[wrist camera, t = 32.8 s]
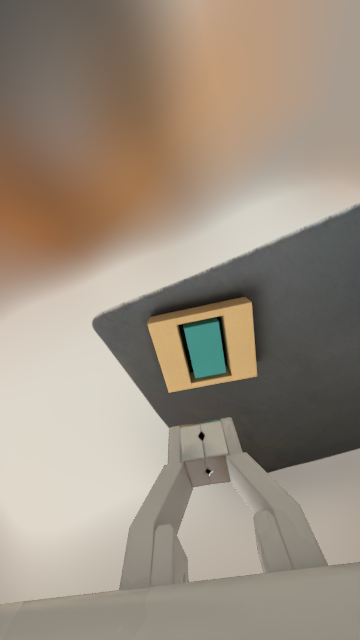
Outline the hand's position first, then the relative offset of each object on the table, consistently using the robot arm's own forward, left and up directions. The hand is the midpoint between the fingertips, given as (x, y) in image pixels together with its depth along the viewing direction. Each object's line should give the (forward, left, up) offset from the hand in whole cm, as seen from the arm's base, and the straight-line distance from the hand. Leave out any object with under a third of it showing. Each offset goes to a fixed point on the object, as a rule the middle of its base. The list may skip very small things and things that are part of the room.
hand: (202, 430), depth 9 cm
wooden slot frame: (-6, +7, -23) cm, 25 cm away
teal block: (-6, +7, -23) cm, 25 cm away
